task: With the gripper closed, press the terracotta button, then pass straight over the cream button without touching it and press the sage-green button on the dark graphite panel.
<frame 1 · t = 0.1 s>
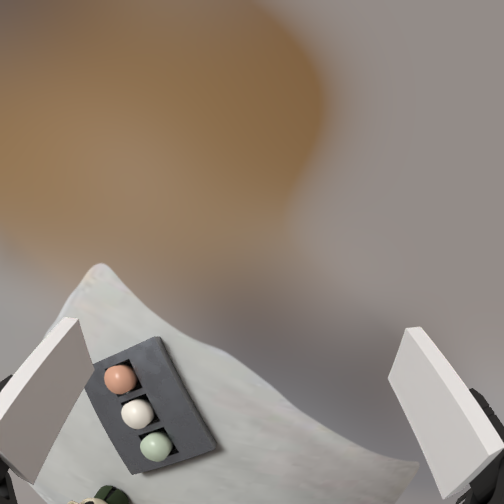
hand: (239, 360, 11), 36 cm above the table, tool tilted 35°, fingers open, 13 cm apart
character mug: (115, 496, 35), on the table
panel: (146, 408, 41), on the table
cream button: (138, 413, 38), point 4 cm above the table, slide at 0.0 cm
sage button: (156, 445, 36), point 4 cm above the table, slide at 0.0 cm
terracotta button: (121, 378, 39), point 4 cm above the table, slide at 0.0 cm
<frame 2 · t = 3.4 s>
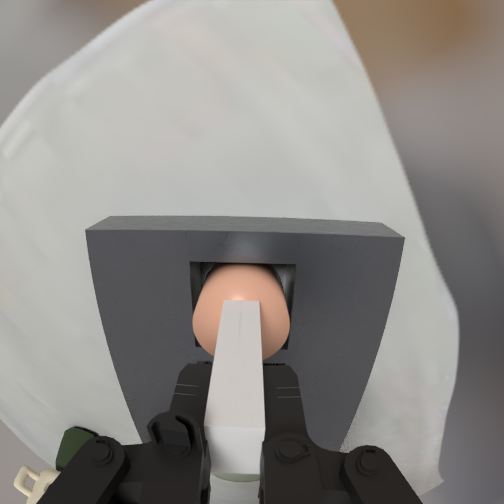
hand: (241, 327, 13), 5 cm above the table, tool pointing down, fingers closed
character mug: (91, 439, 24), on the table
panel: (242, 362, 19), on the table
cream button: (240, 401, 16), point 4 cm above the table, slide at 0.0 cm
sage button: (240, 451, 18), point 4 cm above the table, slide at 0.0 cm
terracotta button: (242, 308, 15), point 3 cm above the table, slide at 0.9 cm, touching gripper
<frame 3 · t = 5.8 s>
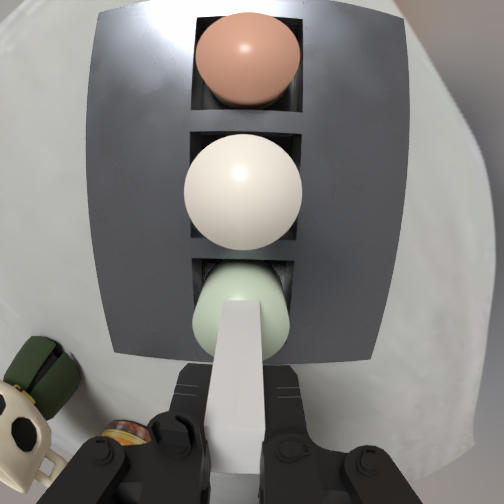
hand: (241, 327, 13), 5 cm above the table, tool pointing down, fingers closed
character mug: (55, 359, 21), on the table
sauce bottle: (133, 433, 24), on the table
panel: (245, 180, 16), on the table
cream button: (243, 187, 12), point 4 cm above the table, slide at 0.0 cm
sage button: (241, 308, 15), point 3 cm above the table, slide at 0.3 cm, touching gripper
terracotta button: (248, 64, 12), point 2 cm above the table, slide at 1.5 cm
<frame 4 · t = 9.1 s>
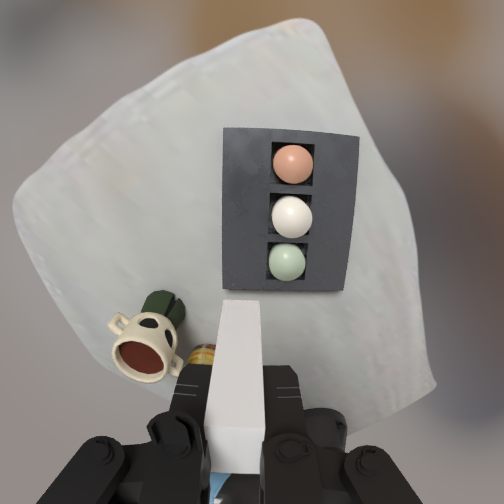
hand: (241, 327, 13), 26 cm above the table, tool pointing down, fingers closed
character mug: (165, 306, 43), on the table
sauce bottle: (207, 355, 46), on the table
panel: (287, 209, 38), on the table
cream button: (290, 215, 34), point 4 cm above the table, slide at 0.0 cm
sage button: (286, 259, 38), point 2 cm above the table, slide at 1.5 cm
terracotta button: (291, 163, 34), point 2 cm above the table, slide at 1.5 cm
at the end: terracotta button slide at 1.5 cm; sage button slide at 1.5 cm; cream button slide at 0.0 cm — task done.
